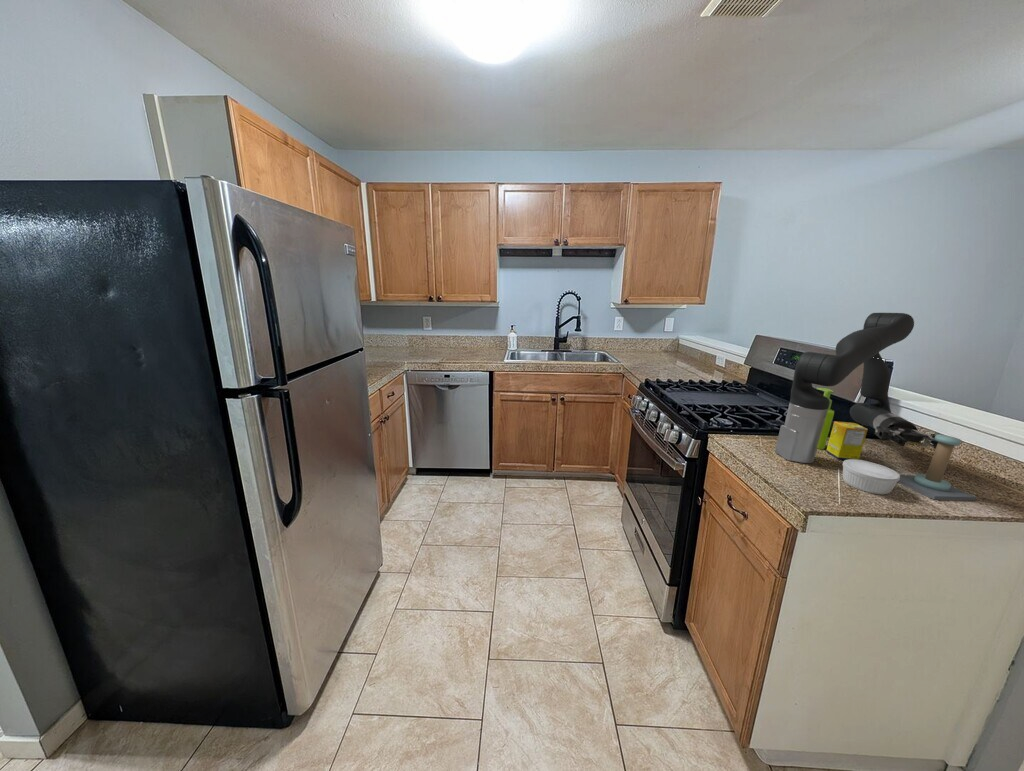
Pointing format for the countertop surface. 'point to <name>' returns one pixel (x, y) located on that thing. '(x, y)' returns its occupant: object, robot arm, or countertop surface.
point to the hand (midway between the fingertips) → (923, 446)
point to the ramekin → (869, 476)
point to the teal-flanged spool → (938, 464)
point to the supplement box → (846, 440)
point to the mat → (934, 494)
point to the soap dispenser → (826, 420)
